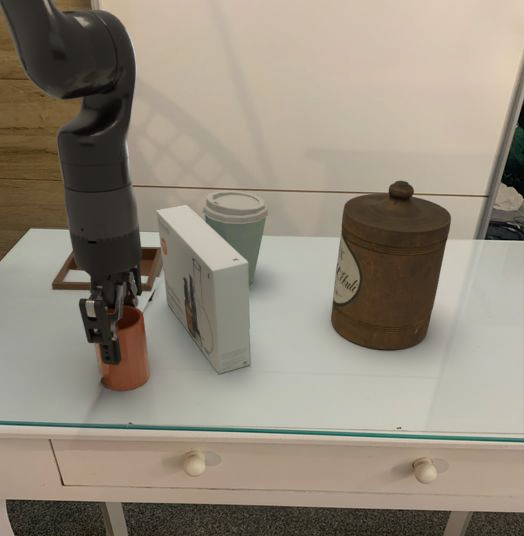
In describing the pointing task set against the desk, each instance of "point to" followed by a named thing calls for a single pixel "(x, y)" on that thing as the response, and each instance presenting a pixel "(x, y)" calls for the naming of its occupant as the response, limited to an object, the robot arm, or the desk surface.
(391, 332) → the wooden container
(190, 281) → the skincare box
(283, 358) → the desk surface
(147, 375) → the cup
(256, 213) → the disposable coffee cup
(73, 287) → the tray
